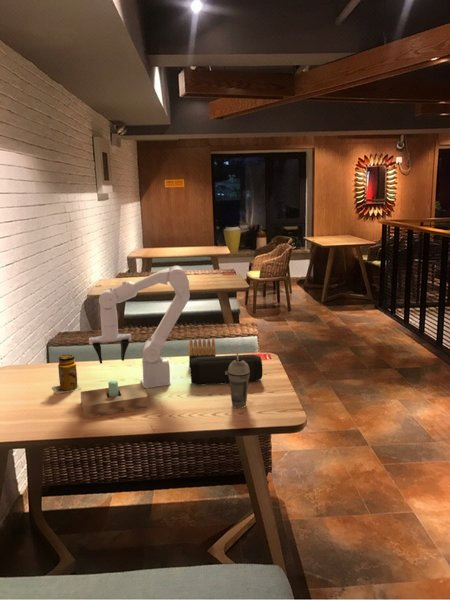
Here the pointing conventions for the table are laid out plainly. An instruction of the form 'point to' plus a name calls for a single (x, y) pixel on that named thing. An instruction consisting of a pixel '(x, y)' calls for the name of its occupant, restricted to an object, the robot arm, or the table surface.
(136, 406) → the hole block
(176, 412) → the table surface
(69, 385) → the condiment
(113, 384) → the peg
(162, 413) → the table surface
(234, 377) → the beverage cup
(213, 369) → the portable speaker
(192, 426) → the table surface
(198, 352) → the ammunition clip
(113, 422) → the table surface
